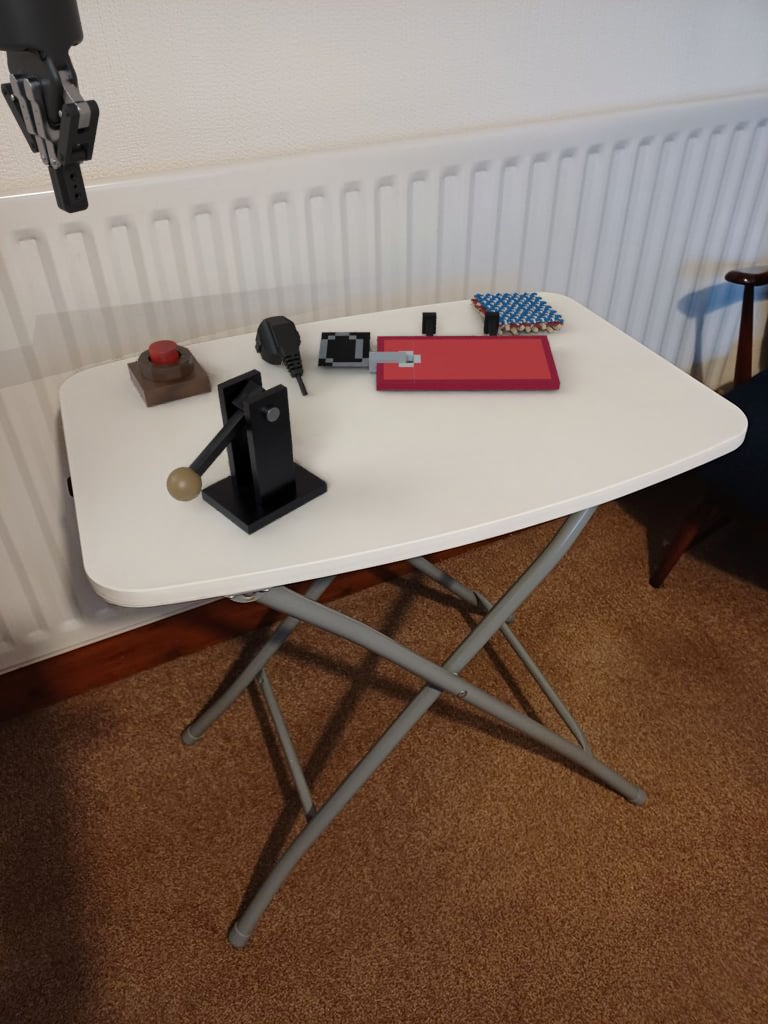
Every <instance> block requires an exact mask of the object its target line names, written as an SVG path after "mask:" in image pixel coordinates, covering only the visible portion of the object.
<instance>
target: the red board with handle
mask: <svg viewBox="0 0 768 1024" xmlns="http://www.w3.org/2000/svg"><path fill="white" fill-rule="evenodd" d="M421 314H422V315H421V316H422V317H421V318H422V319H421V335H377V336H376V351H371V331H333V332H332V331H321V335H320V344H319V354H318V360H317V367H368V371H369V373H375V390H376V391H515V390H517V391H519V390H520V391H523V390H525V391H528V390H529V391H534V390H535V391H537V390H538V391H539V390H540V391H541V390H542V391H543V390H544V391H545V390H549V391H550V390H555V391H556V390H557V391H558V390H560V387H561V379H560V377H559V373H558V369H557V365H556V363H555V359H554V356H553V352H552V348H551V345H550V342H549V337H548V335H547V334H545V335H544V334H543V335H542V334H541V335H540V334H539V335H537V334H536V335H535V334H529V335H528V334H527V335H526V334H525V335H521V334H520V335H519V334H518V335H517V334H515V335H514V334H511V335H510V334H509V335H505V334H504V335H499V334H498V326H499V317H500V315H499V312H485V318H483V331H482V332H483V334H484V335H437V319H438V318H437V314H438V313H437V311H422V313H421Z"/></svg>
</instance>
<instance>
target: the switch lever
mask: <svg viewBox="0 0 768 1024" xmlns="http://www.w3.org/2000/svg"><path fill="white" fill-rule="evenodd" d="M266 390H267V389H265V388H264V387H263V386H262V387H261V386H259V385H257V384H256V383H254V382H252V381H249V382H248V383H247V385H246V386H245V387H244V388H243V389H242V390H241V392H240V393H239V394H238V395H237V396H236V397H235V399H234V400H233V401H232V402H231V403H232V404H233V405H234V406H235V407H236V408H237V409H238V410H237V411H236V412H235V414H234V415H233V416H232V417H231V418H230V419H229V421H228V422H227V423H226V424H225V425H224V426H223V425H222V427H221V429H220V430H219V431H218V432H217V433H216V434H215V436H214V437H213V438H212V439H211V440H210V441H209V442H208V444H207V445H206V446H205V447H204V448H203V450H202V451H201V452H200V453H199V454H198V456H197V457H195V459H194V460H193V461H192V463H191V464H190V465H188V466H181V467H180V466H179V467H177V468H175V469H173V470H172V471H171V472H170V473H169V474H168V476H167V479H166V484H165V485H166V490H167V493H168V494H169V495H170V496H171V497H172V498H173V499H174V500H176V501H178V502H182V503H183V502H184V503H185V502H190V501H194V499H196V498H197V497H198V496H199V495H200V494H201V490H202V489H203V480H202V476H203V475H204V474H205V473H206V472H207V471H208V470H209V468H210V467H211V466H212V465H213V464H214V462H216V460H217V459H218V458H219V456H220V455H221V454H222V453H223V452H224V451H225V450H226V449H227V446H228V445H229V443H230V442H231V441H232V440H233V439H234V438H235V436H236V435H237V434H238V433H239V432H240V431H241V429H242V428H243V427H244V426H245V425H246V422H245V415H244V407H243V400H245V399H247V398H250V397H252V396H254V395H256V394H259V393H261V392H263V391H266Z"/></svg>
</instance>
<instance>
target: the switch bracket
mask: <svg viewBox="0 0 768 1024" xmlns="http://www.w3.org/2000/svg"><path fill="white" fill-rule="evenodd" d="M249 381H252V382H254V383H256V384H257V385H259V386H261V387H263V380H262V373H261V371H260V370H258V369H256V368H254V369H252V370H248V371H247V372H244V373H242V374H238V375H236V376H234V377H232V378H230V379H227V380H225V381H222V382H220V383H217V384H216V388H217V395H218V401H219V408H220V414H221V420H222V427H223V426H224V425H225V424H226V423H227V422H228V421H229V419H230V418H231V417H232V416H233V415H234V414H235V412H236V411H237V410H238V409H237V408H236V407H235V406H234V405H233V404H232V403H231V402H232V401H233V400H234V399H235V397H236V396H237V395H238V394H239V393H240V392H241V390H242V389H243V388H244V387H245V386H246V385H247V383H248V382H249ZM265 390H266V391H263V392H261V393H259V394H256V395H254V396H252V397H250V398H247V399H245V400H243V407H244V415H245V422H246V425H245V426H244V427H243V428H242V429H241V431H240V432H239V433H238V434H237V435H236V436H235V438H234V439H233V440H232V441H231V442H230V443H229V445H228V446H227V447H226V453H227V459H228V467H229V472H230V475H228V476H226V477H223V478H222V479H220V480H217V481H216V482H213V483H212V484H210V485H208V486H206V487H204V488H202V489H201V492H200V494H201V498H202V500H203V501H204V502H206V504H208V505H210V506H211V507H212V508H213V509H215V510H216V511H217V512H219V513H220V514H221V515H222V516H224V517H225V518H226V519H227V520H228V521H230V522H232V523H233V524H234V525H236V526H237V527H238V528H239V529H241V531H244V533H245V534H247V535H248V536H250V535H253V534H254V533H256V532H257V531H259V530H262V529H263V528H264V527H266V526H268V525H270V524H272V523H274V522H276V521H277V520H279V519H281V518H282V517H284V516H286V515H288V514H290V513H292V512H293V511H295V510H297V509H299V508H301V507H302V506H304V505H306V504H307V503H309V502H311V501H313V500H315V499H316V498H318V497H320V496H322V495H323V494H326V493H327V492H328V483H327V481H325V480H323V479H322V478H321V477H319V476H317V475H316V474H314V473H313V472H311V471H310V470H308V469H306V468H304V467H303V466H302V465H301V464H299V463H297V462H296V461H295V460H294V448H293V439H292V438H293V437H292V426H291V413H290V405H289V403H290V402H289V393H288V392H289V391H288V387H287V386H286V385H284V384H282V383H279V384H277V385H274V386H273V387H270V388H267V389H265Z"/></svg>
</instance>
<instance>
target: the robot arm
mask: <svg viewBox="0 0 768 1024" xmlns="http://www.w3.org/2000/svg"><path fill="white" fill-rule="evenodd" d="M84 35H85V34H84V30H83V26H82V21H81V16H80V11H79V6H78V1H77V0H0V51H1V52H5V53H6V64H7V65H6V66H7V69H8V73H9V82H5V83H1V84H0V91H1V92H0V93H1V95H2V96H3V98H4V100H5V103H6V104H7V106H8V109H9V110H10V111H11V113H12V116H13V117H14V119H15V121H16V124H17V125H18V127H19V129H20V131H21V133H22V135H23V137H24V139H25V140H26V143H27V145H28V146H29V149H30V150H31V152H32V153H33V154H37V153H39V156H40V159H41V161H42V163H43V164H44V165H45V166H47V170H48V173H49V177H50V181H51V186H52V189H53V193H54V197H55V201H56V205H57V208H58V209H59V210H61V211H64V212H66V213H68V214H74V213H79V212H83V211H86V210H87V209H88V208H89V206H90V205H89V200H88V195H87V191H86V186H85V182H84V177H83V174H82V169H81V165H83V164H84V162H88V161H92V160H93V155H94V149H95V142H96V137H97V130H98V126H99V125H98V124H99V120H100V113H101V112H100V107H99V104H98V103H97V101H96V100H95V99H88V100H87V99H86V100H85V99H84V97H83V96H82V95H81V92H80V88H79V87H80V86H79V79H78V75H77V72H76V69H75V67H74V64H73V62H72V59H71V56H70V52H69V51H70V49H71V48H72V47H76V46H78V45H81V44H82V42H83V40H84Z"/></svg>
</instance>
